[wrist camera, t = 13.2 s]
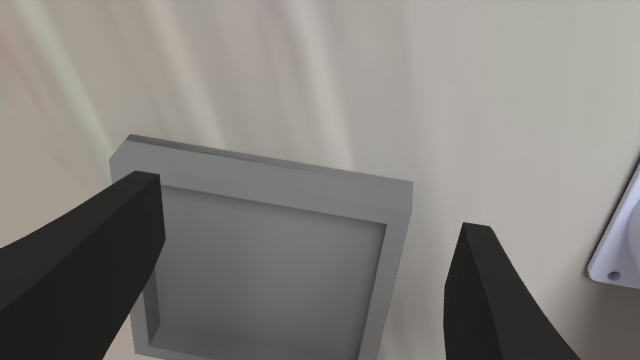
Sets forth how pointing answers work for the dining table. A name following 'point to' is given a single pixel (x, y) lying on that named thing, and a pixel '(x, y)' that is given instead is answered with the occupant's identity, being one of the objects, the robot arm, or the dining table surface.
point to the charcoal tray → (265, 256)
